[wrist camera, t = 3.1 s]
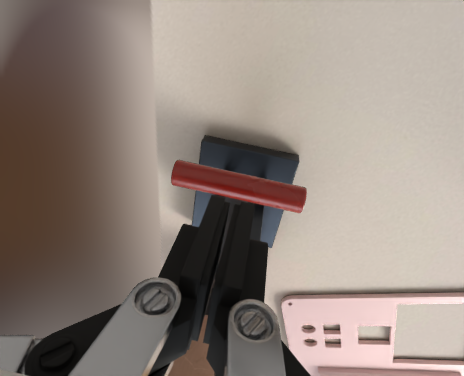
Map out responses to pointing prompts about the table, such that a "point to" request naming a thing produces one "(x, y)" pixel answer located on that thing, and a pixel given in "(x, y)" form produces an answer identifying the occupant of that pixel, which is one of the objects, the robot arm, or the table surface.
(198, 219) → the bracket
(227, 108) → the table surface
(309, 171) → the table surface
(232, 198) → the lever
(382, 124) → the table surface
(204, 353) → the travel mug
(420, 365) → the panel
